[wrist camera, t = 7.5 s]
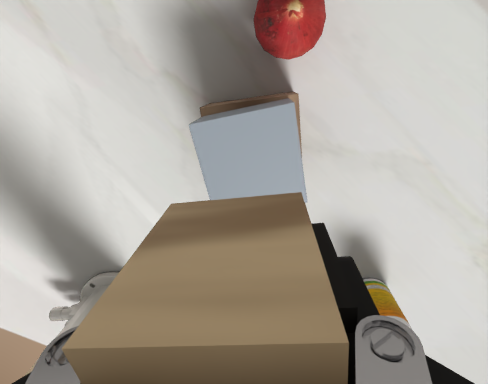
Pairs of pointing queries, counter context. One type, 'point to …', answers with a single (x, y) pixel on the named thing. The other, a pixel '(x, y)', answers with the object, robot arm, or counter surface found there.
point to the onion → (289, 26)
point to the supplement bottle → (384, 300)
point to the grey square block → (250, 151)
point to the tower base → (247, 102)
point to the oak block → (218, 302)
